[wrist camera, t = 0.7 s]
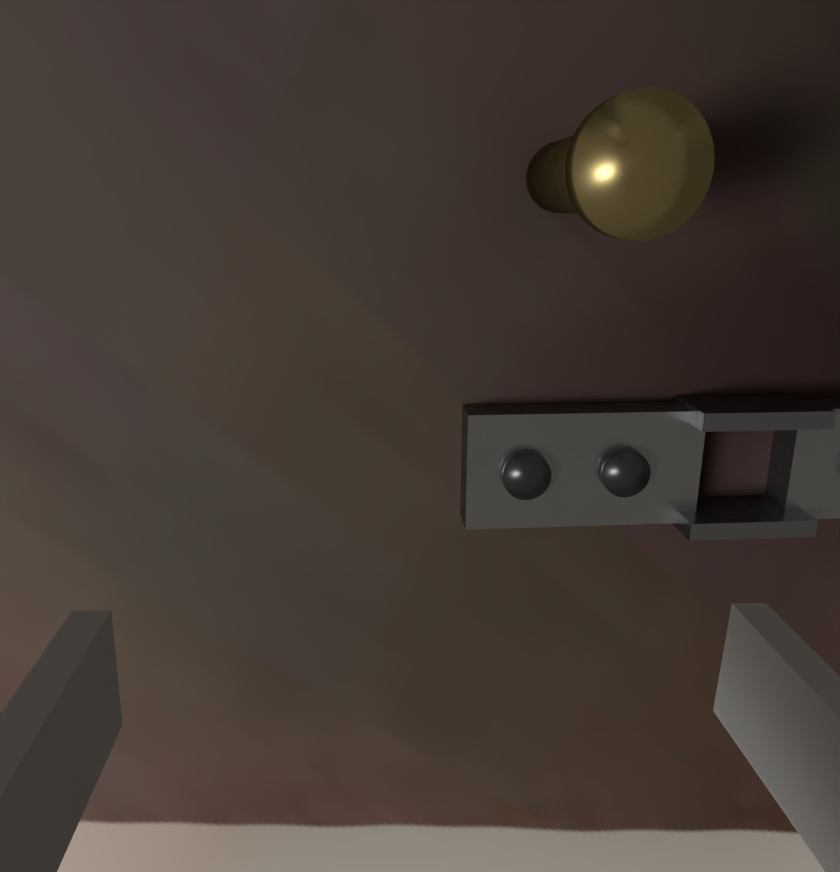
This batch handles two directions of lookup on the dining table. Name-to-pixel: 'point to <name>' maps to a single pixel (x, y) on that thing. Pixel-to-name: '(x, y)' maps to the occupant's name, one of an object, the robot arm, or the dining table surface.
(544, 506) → the grey long bar piece
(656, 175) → the pin
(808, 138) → the dining table surface
